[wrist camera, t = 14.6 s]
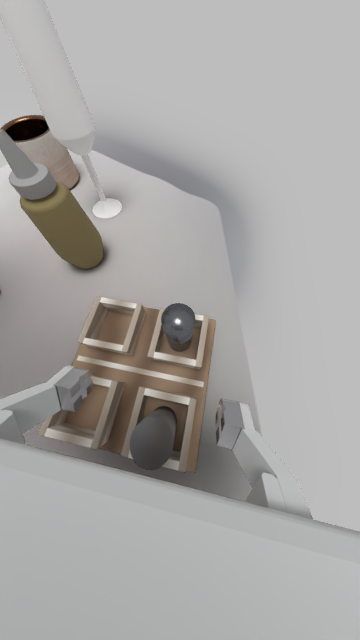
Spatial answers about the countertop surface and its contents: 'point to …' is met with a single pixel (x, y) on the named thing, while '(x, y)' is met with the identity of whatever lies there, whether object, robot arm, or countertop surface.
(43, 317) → the countertop surface
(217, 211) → the countertop surface
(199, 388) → the wooden compartment tray
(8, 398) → the robot arm
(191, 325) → the pin
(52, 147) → the planter
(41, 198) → the squeeze bottle
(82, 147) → the champagne flute
